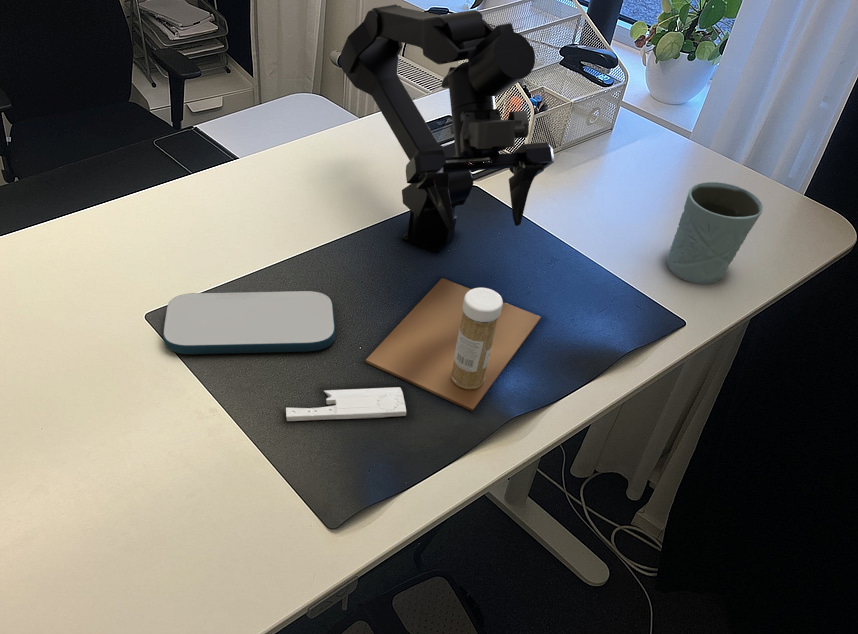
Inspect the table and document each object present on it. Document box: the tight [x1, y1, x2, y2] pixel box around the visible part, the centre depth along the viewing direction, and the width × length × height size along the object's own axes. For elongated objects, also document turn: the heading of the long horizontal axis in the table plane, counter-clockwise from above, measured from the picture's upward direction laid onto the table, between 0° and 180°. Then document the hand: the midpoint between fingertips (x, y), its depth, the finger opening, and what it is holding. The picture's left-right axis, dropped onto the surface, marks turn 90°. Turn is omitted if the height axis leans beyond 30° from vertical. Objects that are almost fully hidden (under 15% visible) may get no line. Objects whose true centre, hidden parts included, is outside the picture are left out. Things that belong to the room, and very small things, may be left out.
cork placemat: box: [365, 277, 542, 412], centre depth 105 cm, size 16×22×1 cm
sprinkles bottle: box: [451, 287, 504, 389], centre depth 94 cm, size 5×5×13 cm
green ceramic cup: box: [666, 181, 764, 285], centre depth 113 cm, size 10×10×12 cm
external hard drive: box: [162, 290, 336, 355], centre depth 106 cm, size 24×12×2 cm, turn 93°
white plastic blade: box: [285, 386, 407, 422], centre depth 96 cm, size 5×15×1 cm, turn 94°
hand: (485, 227), depth 101 cm, fingers open, 9 cm apart
